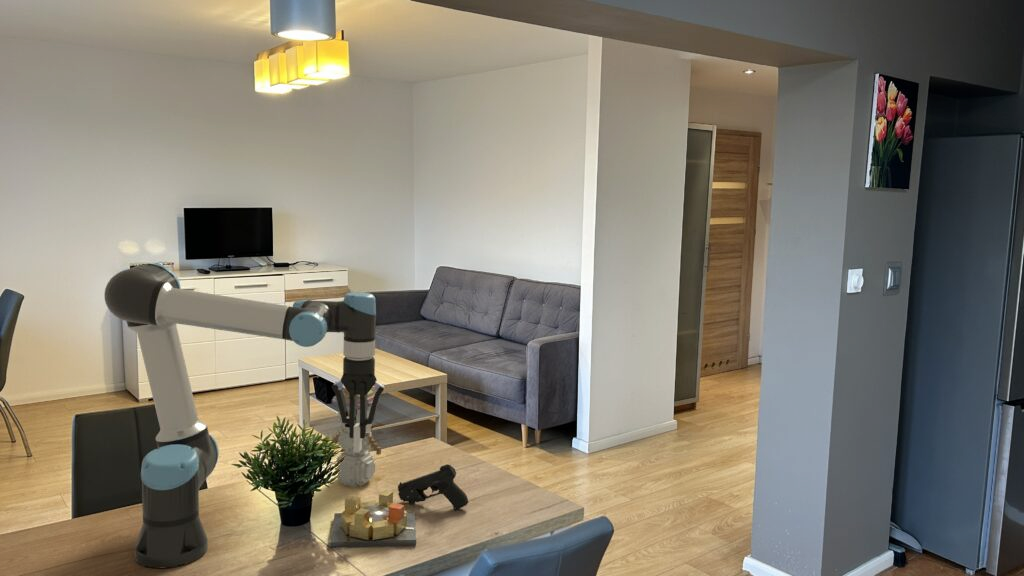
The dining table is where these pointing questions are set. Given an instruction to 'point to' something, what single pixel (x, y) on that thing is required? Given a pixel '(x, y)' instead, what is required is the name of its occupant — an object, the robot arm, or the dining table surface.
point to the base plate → (376, 514)
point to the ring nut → (358, 518)
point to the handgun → (434, 488)
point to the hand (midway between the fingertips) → (357, 450)
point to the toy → (355, 464)
